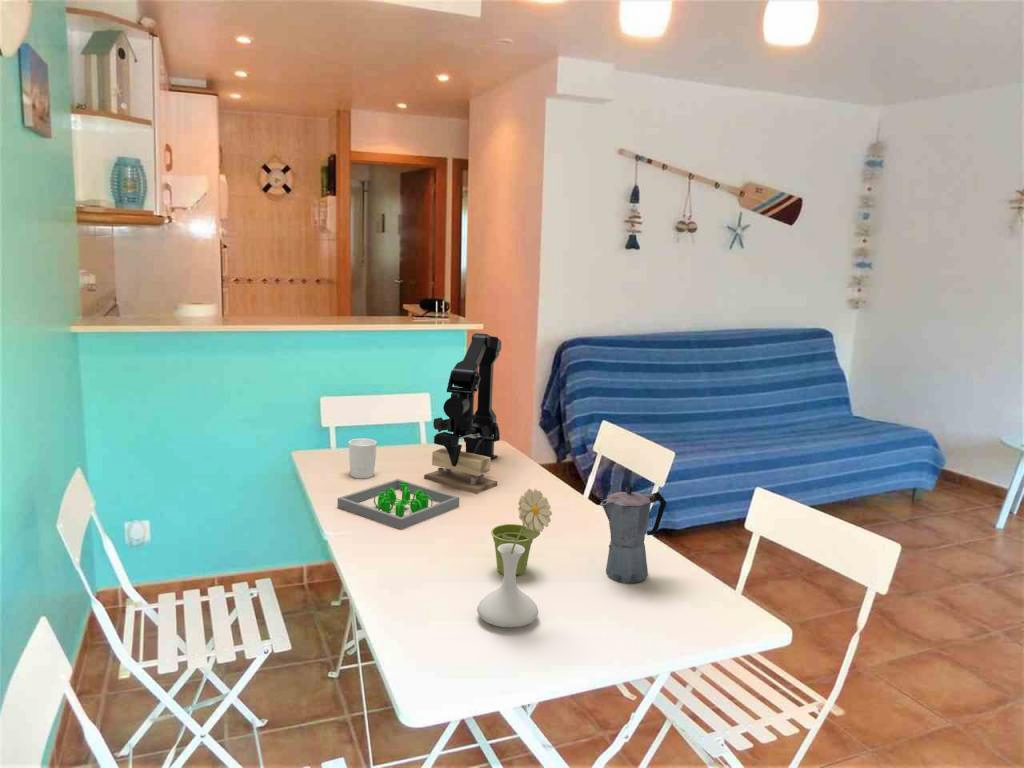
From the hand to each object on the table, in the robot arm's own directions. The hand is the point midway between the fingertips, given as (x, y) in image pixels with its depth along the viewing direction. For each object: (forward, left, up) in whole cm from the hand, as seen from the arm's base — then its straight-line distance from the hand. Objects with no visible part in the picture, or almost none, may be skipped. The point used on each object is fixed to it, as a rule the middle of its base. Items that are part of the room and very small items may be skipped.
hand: (461, 463), depth 218 cm
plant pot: (+39, +46, -6) cm, 60 cm away
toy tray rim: (+27, +2, -6) cm, 28 cm away
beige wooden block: (0, 0, -1) cm, 1 cm away
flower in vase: (+56, +58, -6) cm, 81 cm away
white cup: (+15, -24, -6) cm, 29 cm away
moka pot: (+24, +66, -6) cm, 70 cm away
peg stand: (0, 0, -6) cm, 6 cm away
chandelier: (+27, +3, -6) cm, 28 cm away
